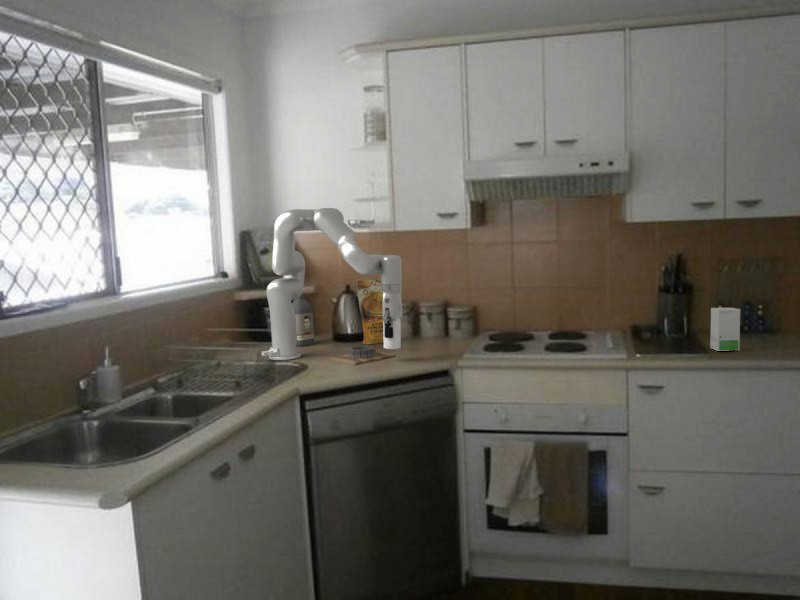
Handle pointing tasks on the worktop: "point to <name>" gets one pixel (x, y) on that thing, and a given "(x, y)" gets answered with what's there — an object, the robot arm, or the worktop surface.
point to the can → (396, 340)
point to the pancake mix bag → (371, 309)
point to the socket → (361, 355)
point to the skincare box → (725, 329)
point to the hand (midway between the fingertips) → (392, 335)
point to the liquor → (303, 322)
